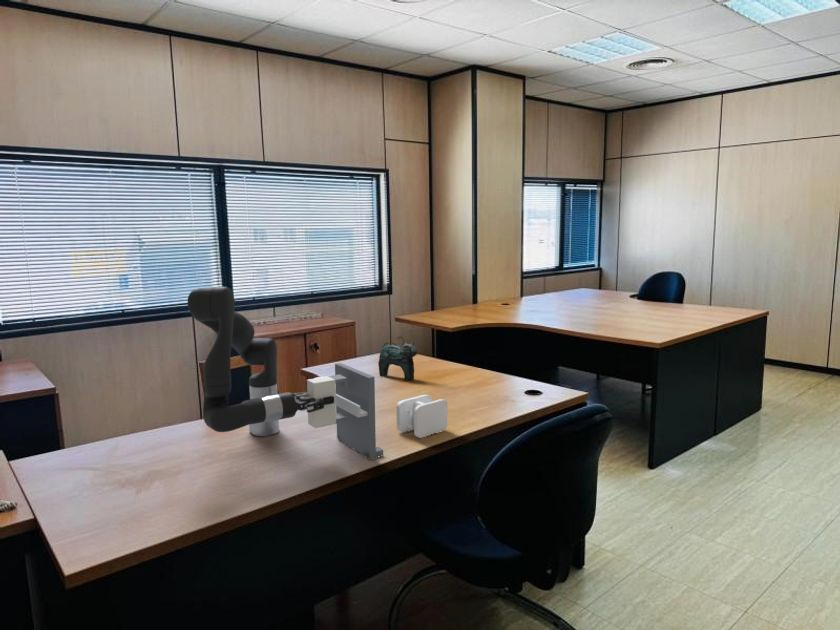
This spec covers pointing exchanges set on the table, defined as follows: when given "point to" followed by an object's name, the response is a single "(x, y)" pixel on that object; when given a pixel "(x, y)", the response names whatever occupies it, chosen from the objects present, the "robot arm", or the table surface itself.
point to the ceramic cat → (398, 359)
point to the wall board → (357, 411)
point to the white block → (320, 390)
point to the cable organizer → (422, 415)
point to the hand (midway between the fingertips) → (329, 397)
